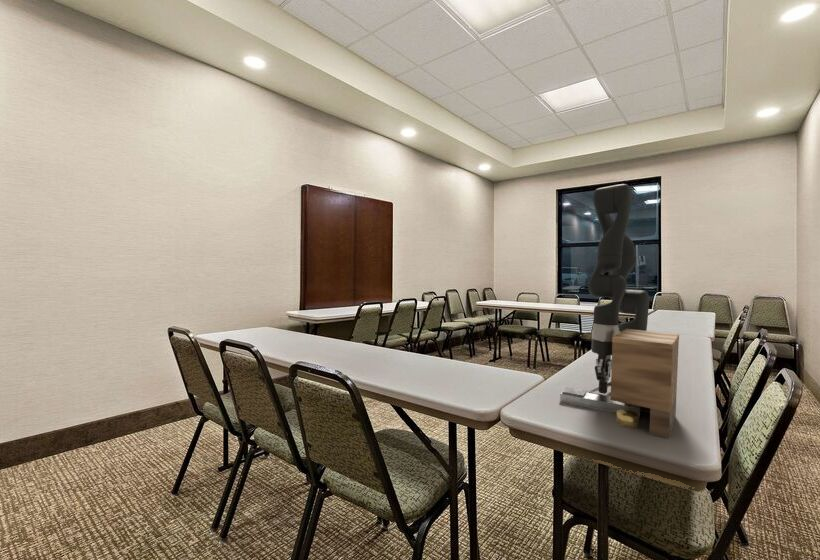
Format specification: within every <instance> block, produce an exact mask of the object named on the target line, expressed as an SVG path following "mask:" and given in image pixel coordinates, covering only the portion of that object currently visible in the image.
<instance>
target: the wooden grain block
mask: <svg viewBox="0 0 820 560" xmlns="http://www.w3.org/2000/svg"><path fill="white" fill-rule="evenodd" d="M679 340H680V334H679V333H671V332H660V331H659V332H658V331H651V330H647V331H643V330H633V329H625V330H624V331H622V332H620V333H619V334H617V335H615V336H614V337H612V342H613V343H612V355H611V359H612V369H611V374H610V382H611V385H610V392H611V395H610V396H611V399H610V400H613V401H618V402H622V403H627V404H632V405H637V406H641V411H640V412H645V413H649V435H651V436H655V437H660V438H664V439H667V440H669V439H670V436H671V432H672V430H673V425H674V423H675V419H676V417H677V416H676V413H677V410H676V409H677V390H678V367H679V366H678V364H679V345H680V344H679V343H680V341H679Z"/></svg>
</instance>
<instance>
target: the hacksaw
mask: <svg viewBox="0 0 820 560" xmlns="http://www.w3.org/2000/svg"><path fill="white" fill-rule="evenodd" d="M609 386H611V381H608V387H609ZM596 391H599V386H597V387H595V388H594V389H592V390H590V391H588V392H589V393H592V394H598V395H604V396H609V397H611V391H610V392H607V393H606V394H603V393H596Z"/></svg>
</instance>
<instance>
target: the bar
mask: <svg viewBox="0 0 820 560" xmlns="http://www.w3.org/2000/svg"><path fill="white" fill-rule="evenodd" d="M592 393H593V392H592ZM592 393H588V391H587V390H583V389H578V388H572V387H564V388H563V390H562V391H561V392H560V394H559V396H560V397H559V402H560V403H563V402H566V403H565V404H568V403H570V405H573V404H574V405H575V406H578V405H579V406H578V407H584V408H588V409H589V408H590V409H594V410H599V411H603V412H604V411H605V412H609V413H615V414H617V410H629V411H633V412H635V413H637V414H638V419H639V418H641V412H642V411H641V406H637V405H632V404H627V403H622V402H618V401H613V400H610V399H611V397H610V396H604V395H605V394H603V395H598V394H599V393H596V394H592Z"/></svg>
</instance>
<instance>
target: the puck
mask: <svg viewBox="0 0 820 560" xmlns="http://www.w3.org/2000/svg"><path fill="white" fill-rule="evenodd" d="M615 423H616V424H617V425H618V426H621V427H624V428H629V429H636V428H638V427H639V417H638V414H637V413H635V412H633V411H629V410H617V413H616V422H615Z"/></svg>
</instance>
